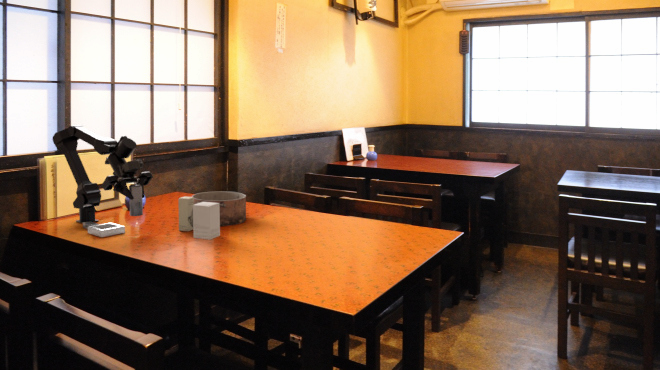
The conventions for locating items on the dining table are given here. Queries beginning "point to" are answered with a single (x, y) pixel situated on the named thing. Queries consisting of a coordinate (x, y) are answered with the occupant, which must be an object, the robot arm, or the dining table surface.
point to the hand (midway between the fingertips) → (137, 198)
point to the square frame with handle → (103, 229)
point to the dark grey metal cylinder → (136, 200)
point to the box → (186, 213)
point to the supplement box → (206, 220)
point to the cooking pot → (226, 205)
